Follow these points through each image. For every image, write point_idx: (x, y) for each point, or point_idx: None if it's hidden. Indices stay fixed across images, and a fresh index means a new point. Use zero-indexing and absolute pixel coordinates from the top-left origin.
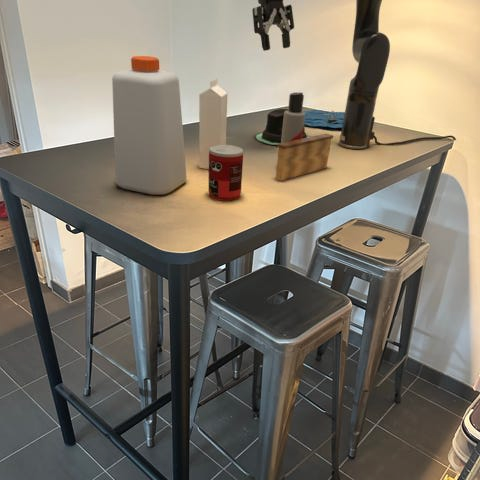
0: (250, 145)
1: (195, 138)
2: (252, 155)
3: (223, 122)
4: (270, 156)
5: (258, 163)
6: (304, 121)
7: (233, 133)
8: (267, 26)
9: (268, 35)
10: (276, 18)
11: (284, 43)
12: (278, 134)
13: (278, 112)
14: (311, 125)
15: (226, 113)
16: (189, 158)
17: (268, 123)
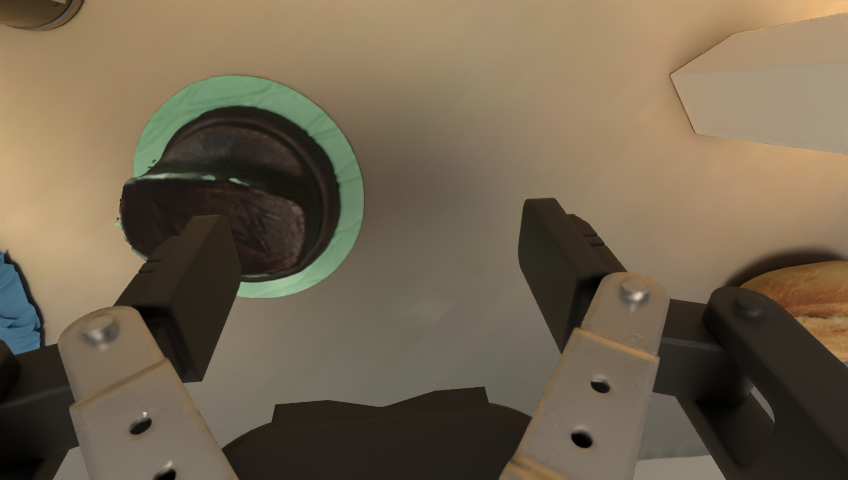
0: (426, 202)
1: (527, 353)
2: (511, 105)
3: (835, 33)
4: (464, 58)
5: (565, 17)
6: (8, 319)
7: (373, 343)
8: (636, 339)
9: (578, 267)
10: (386, 468)
11: (224, 281)
12: (312, 173)
13: (264, 231)
14: (6, 275)
15: (815, 59)
16: (703, 192)
17: (313, 238)
